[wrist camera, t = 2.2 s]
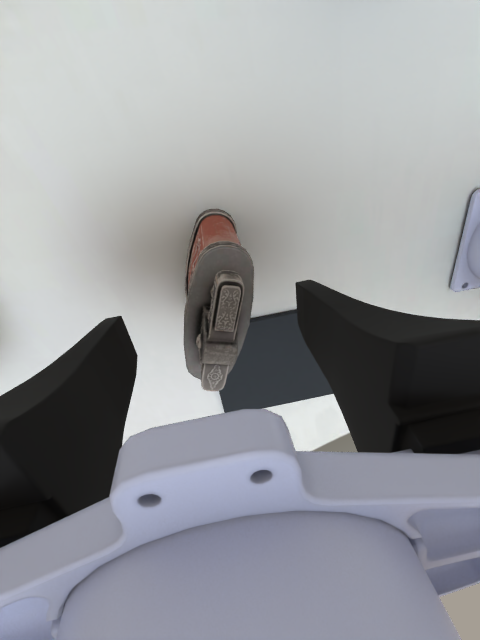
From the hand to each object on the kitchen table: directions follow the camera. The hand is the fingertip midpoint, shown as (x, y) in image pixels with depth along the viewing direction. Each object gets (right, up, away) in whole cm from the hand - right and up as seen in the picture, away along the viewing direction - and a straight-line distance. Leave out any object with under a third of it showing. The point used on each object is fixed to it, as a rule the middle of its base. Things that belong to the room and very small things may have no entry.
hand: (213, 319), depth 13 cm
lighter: (-1, +4, +10) cm, 11 cm away
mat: (+5, -4, +15) cm, 16 cm away
